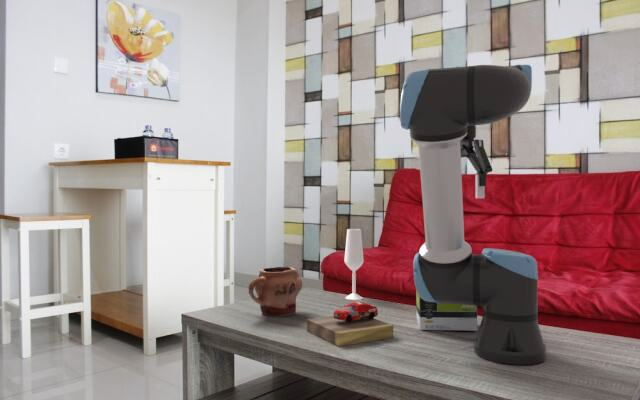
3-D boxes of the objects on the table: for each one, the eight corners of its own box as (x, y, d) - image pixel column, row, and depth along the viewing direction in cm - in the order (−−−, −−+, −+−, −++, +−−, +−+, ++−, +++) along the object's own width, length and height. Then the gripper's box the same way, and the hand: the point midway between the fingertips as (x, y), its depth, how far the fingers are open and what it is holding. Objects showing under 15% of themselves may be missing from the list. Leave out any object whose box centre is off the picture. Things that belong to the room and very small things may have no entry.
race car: (341, 323, 127) (342, 307, 127) (328, 319, 131) (329, 303, 131) (381, 318, 134) (381, 303, 134) (367, 314, 139) (367, 299, 139)
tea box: (470, 323, 143) (470, 270, 143) (477, 332, 133) (477, 275, 133) (415, 321, 145) (415, 269, 145) (419, 330, 135) (419, 274, 135)
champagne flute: (354, 301, 173) (354, 230, 173) (340, 298, 178) (340, 229, 178) (367, 298, 177) (367, 229, 177) (353, 295, 182) (353, 228, 182)
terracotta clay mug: (267, 325, 141) (267, 274, 140) (236, 318, 148) (236, 270, 148) (312, 312, 156) (312, 266, 156) (282, 306, 164) (282, 263, 164)
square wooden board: (393, 337, 128) (393, 325, 128) (338, 346, 120) (338, 333, 120) (358, 323, 142) (358, 312, 142) (307, 330, 134) (307, 319, 134)
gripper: (505, 120, 139) (505, 198, 139) (442, 130, 161) (442, 198, 161) (486, 118, 136) (485, 198, 136) (423, 129, 158) (423, 198, 158)
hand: (462, 198), depth 148 cm, fingers open, 13 cm apart
